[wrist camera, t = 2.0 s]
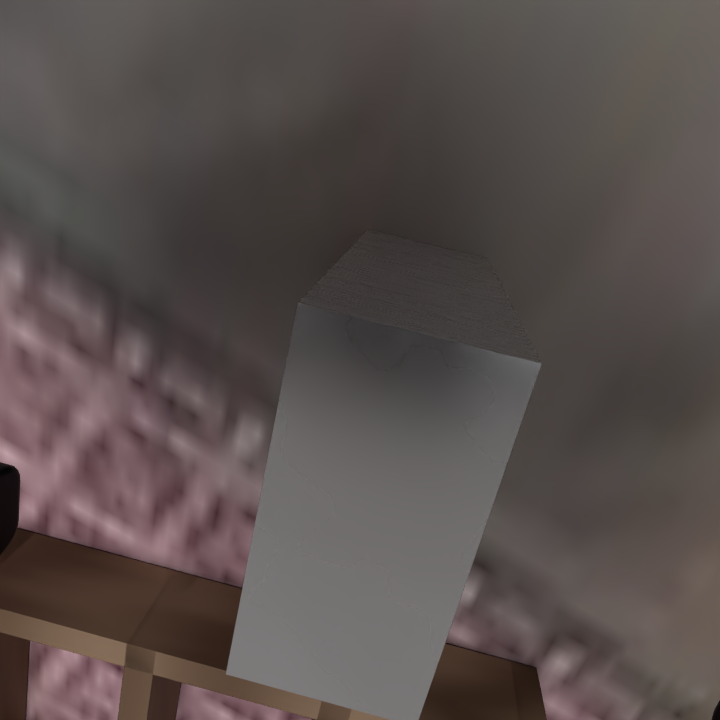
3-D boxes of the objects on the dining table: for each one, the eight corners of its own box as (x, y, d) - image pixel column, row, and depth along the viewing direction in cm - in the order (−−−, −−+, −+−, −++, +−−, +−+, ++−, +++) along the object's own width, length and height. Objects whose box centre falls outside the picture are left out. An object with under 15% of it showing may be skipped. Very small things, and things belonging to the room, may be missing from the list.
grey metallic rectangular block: (487, 258, 15) (541, 363, 7) (425, 470, 17) (416, 726, 9) (367, 229, 15) (297, 302, 7) (319, 443, 17) (225, 674, 9)
